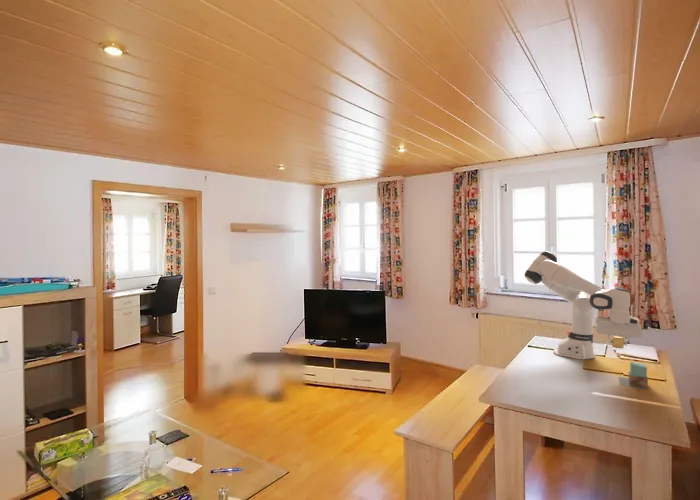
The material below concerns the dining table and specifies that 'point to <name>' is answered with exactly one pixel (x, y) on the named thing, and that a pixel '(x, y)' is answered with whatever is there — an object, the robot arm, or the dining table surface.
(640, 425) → the dining table surface
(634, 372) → the block top
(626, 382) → the slate board
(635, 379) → the block base
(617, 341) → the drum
